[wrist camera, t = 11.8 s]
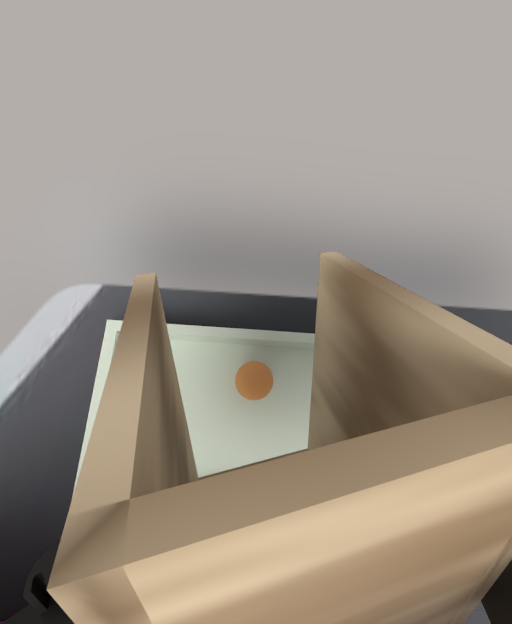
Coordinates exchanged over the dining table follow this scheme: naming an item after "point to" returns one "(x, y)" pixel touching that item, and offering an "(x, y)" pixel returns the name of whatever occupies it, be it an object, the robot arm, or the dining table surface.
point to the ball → (254, 380)
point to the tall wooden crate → (302, 478)
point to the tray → (230, 392)
